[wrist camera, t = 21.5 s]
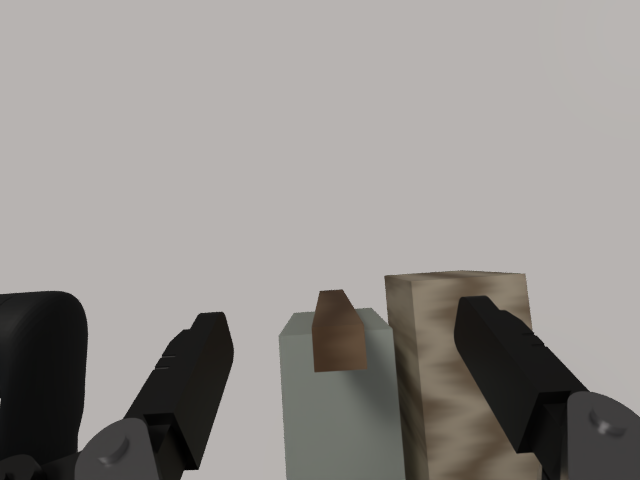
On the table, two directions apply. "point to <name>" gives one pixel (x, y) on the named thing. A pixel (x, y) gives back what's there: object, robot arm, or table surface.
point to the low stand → (340, 408)
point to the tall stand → (449, 378)
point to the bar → (337, 334)
